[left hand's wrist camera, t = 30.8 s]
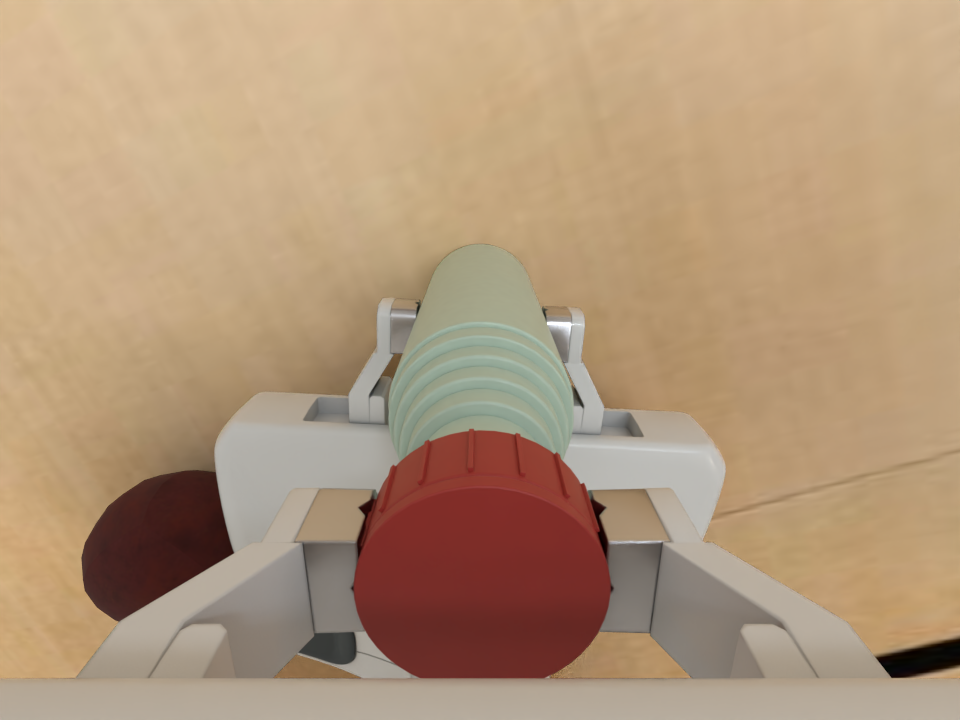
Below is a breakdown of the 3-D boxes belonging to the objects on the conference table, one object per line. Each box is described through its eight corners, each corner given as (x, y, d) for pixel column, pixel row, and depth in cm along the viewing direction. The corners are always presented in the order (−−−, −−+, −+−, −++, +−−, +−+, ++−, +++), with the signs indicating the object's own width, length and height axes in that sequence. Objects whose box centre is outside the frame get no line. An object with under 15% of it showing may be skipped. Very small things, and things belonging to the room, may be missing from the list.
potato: (114, 510, 31) (14, 608, 24) (193, 415, 29) (107, 493, 22) (228, 584, 32) (164, 695, 26) (310, 499, 30) (263, 595, 24)
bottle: (409, 310, 27) (284, 590, 10) (465, 222, 26) (435, 369, 8) (494, 362, 28) (518, 705, 11) (552, 281, 27) (689, 523, 9)
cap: (413, 630, 11) (400, 715, 10) (339, 459, 10) (311, 522, 8) (611, 584, 11) (636, 664, 9) (563, 401, 9) (581, 454, 8)
